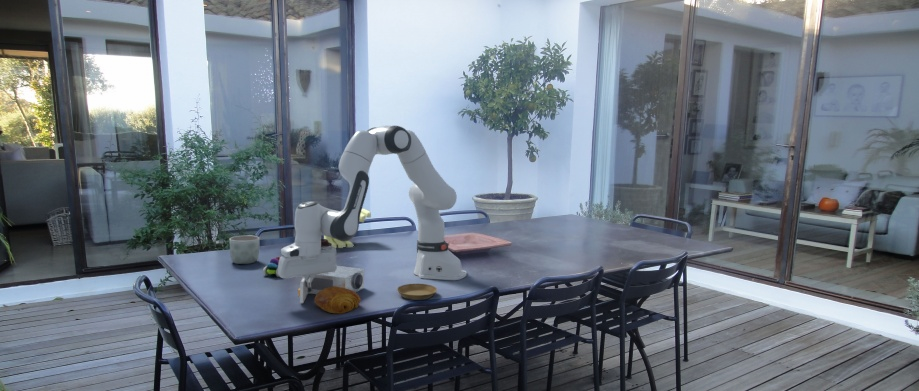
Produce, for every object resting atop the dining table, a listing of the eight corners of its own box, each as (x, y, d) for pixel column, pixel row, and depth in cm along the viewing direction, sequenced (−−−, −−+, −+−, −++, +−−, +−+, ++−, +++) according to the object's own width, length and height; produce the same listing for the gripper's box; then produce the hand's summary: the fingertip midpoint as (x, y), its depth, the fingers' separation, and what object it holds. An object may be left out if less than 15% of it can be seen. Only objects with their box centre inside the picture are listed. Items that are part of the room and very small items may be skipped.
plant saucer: (445, 296, 205) (445, 289, 204) (416, 304, 194) (416, 297, 193) (417, 287, 214) (417, 281, 214) (388, 295, 203) (388, 288, 203)
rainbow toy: (291, 273, 230) (291, 256, 229) (278, 278, 221) (278, 261, 220) (274, 271, 232) (273, 254, 231) (260, 276, 223) (259, 259, 222)
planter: (223, 264, 241) (223, 239, 239) (241, 258, 253) (240, 234, 251) (248, 266, 238) (248, 241, 237) (265, 260, 250) (265, 236, 248)
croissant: (325, 323, 178) (326, 301, 176) (309, 303, 191) (309, 282, 189) (366, 315, 186) (367, 293, 184) (348, 296, 199) (349, 276, 197)
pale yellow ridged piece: (361, 239, 301) (361, 207, 299) (370, 245, 287) (370, 211, 285) (305, 243, 287) (305, 209, 285) (312, 250, 273) (311, 214, 271)
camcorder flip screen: (303, 303, 190) (303, 282, 189) (298, 303, 190) (297, 282, 189) (308, 292, 202) (308, 273, 202) (303, 292, 202) (303, 273, 201)
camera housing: (366, 288, 210) (367, 268, 210) (347, 298, 197) (348, 277, 196) (327, 283, 216) (327, 263, 215) (306, 292, 203) (306, 272, 202)
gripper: (332, 243, 201) (332, 280, 202) (276, 249, 189) (276, 288, 191) (339, 247, 196) (339, 284, 197) (282, 253, 184) (282, 293, 185)
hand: (308, 286), depth 194 cm, fingers closed
